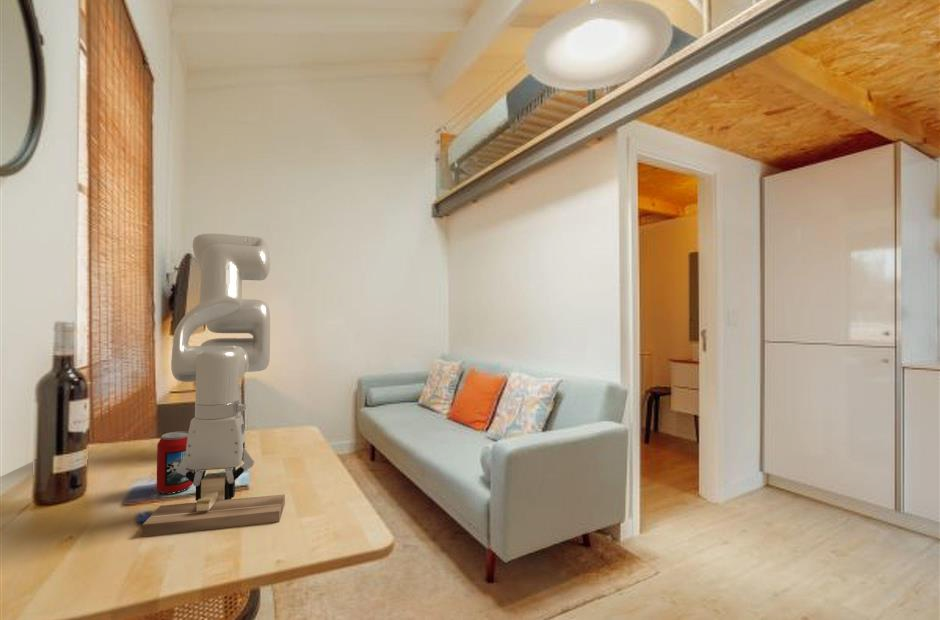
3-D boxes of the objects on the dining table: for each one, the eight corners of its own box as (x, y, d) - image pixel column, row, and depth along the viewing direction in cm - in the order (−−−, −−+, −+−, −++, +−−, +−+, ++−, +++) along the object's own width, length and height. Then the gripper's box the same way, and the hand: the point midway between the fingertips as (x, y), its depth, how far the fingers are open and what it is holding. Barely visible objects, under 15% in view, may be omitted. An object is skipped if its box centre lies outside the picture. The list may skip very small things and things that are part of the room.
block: (206, 503, 91) (207, 472, 91) (228, 501, 92) (229, 470, 92) (190, 524, 81) (190, 489, 81) (214, 522, 82) (215, 487, 83)
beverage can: (175, 496, 94) (176, 439, 94) (148, 494, 95) (149, 437, 95) (200, 485, 101) (201, 431, 101) (175, 482, 102) (176, 429, 102)
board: (160, 516, 85) (160, 505, 85) (284, 504, 91) (284, 494, 91) (142, 536, 77) (142, 524, 77) (279, 521, 83) (279, 510, 83)
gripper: (265, 405, 96) (264, 491, 96) (176, 408, 91) (175, 498, 91) (258, 413, 89) (257, 506, 88) (161, 417, 84) (159, 514, 84)
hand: (215, 501), depth 90 cm, fingers closed on block, 4 cm apart
